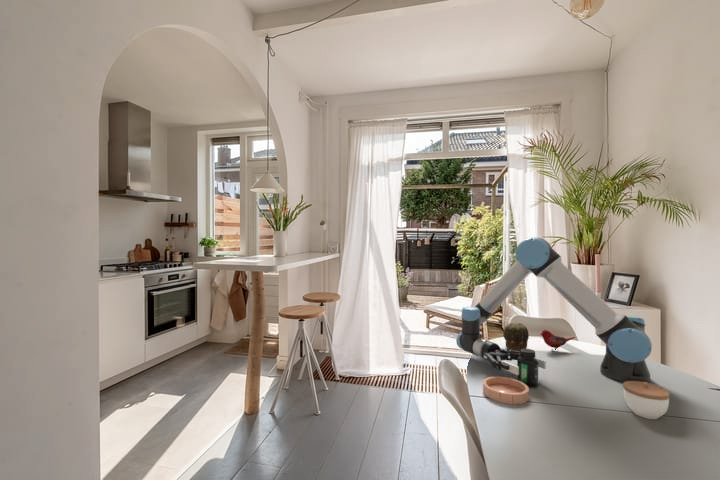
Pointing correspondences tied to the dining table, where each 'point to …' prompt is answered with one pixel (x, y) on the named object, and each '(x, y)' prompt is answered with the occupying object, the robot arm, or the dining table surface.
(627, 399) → the lidded jar
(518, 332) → the brown rounded lump
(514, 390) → the terracotta dish
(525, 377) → the supplement bottle
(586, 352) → the dining table surface
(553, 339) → the decorative bird figurine
